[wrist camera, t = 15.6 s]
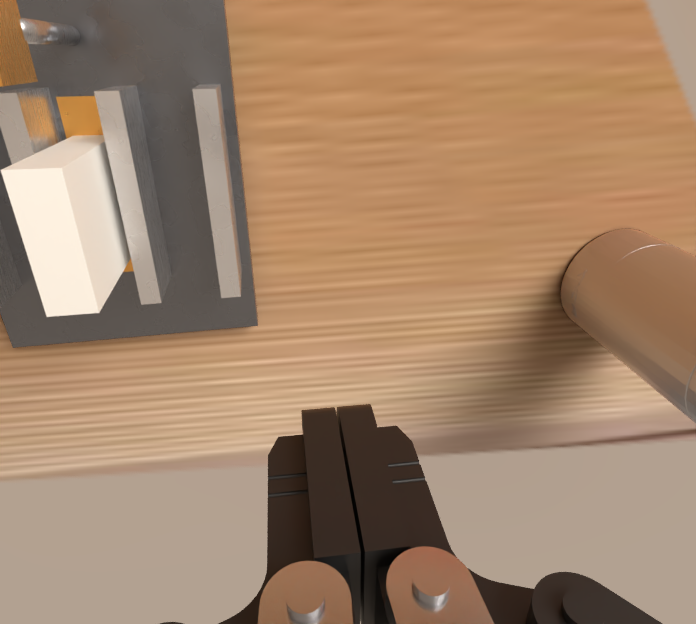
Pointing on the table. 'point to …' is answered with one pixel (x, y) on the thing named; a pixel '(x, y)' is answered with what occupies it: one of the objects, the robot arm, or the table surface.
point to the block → (70, 223)
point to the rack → (132, 159)
